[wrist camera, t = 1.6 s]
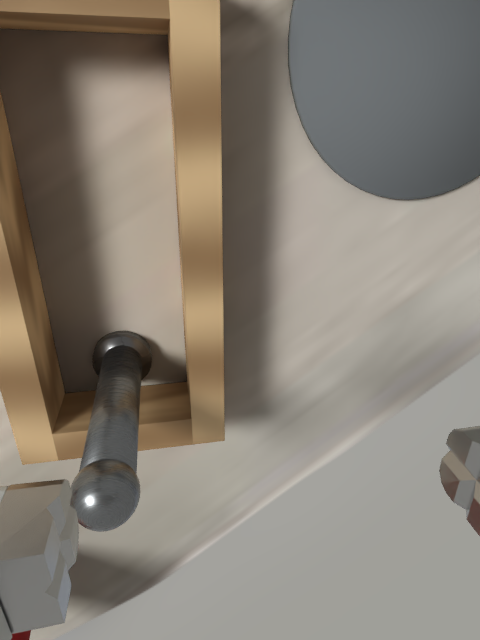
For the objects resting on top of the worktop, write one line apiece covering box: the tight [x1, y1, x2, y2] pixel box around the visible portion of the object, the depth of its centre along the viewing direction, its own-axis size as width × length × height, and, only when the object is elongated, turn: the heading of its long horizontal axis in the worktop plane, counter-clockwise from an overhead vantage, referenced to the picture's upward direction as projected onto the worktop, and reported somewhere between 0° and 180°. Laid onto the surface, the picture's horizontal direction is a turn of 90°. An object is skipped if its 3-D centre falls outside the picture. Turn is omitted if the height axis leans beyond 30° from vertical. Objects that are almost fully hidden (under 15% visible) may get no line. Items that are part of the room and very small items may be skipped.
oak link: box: [0, 0, 225, 465], centre depth 22 cm, size 24×12×4 cm, turn 0°
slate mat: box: [288, 0, 480, 199], centre depth 22 cm, size 16×16×1 cm
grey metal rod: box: [70, 331, 152, 531], centre depth 22 cm, size 4×4×13 cm
